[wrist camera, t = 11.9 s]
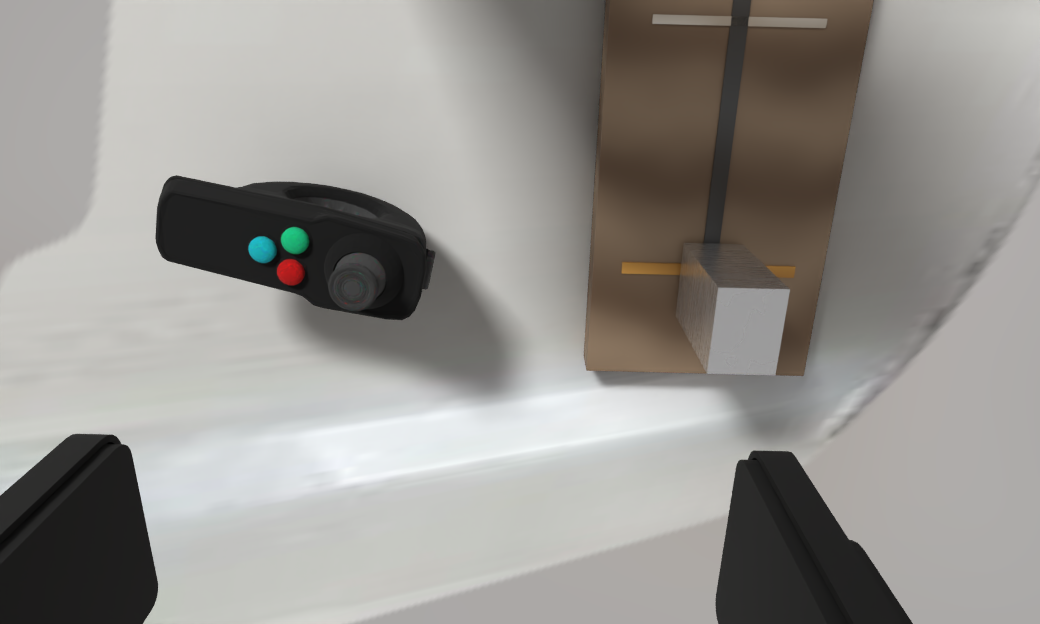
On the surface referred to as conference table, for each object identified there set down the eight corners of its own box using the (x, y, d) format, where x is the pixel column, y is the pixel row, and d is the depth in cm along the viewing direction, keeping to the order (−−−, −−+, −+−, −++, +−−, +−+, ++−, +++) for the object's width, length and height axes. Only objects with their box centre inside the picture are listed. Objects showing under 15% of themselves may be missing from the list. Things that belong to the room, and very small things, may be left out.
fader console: (610, -74, 33) (615, -81, 31) (867, -68, 33) (888, -74, 31) (583, 355, 41) (586, 371, 39) (791, 360, 41) (804, 376, 39)
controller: (436, 276, 39) (408, 350, 30) (213, 224, 38) (113, 283, 29) (452, 202, 38) (428, 255, 28) (220, 145, 37) (117, 182, 28)
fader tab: (683, 242, 36) (718, 287, 30) (742, 244, 36) (789, 289, 30) (675, 315, 38) (706, 373, 31) (732, 316, 38) (775, 375, 31)
